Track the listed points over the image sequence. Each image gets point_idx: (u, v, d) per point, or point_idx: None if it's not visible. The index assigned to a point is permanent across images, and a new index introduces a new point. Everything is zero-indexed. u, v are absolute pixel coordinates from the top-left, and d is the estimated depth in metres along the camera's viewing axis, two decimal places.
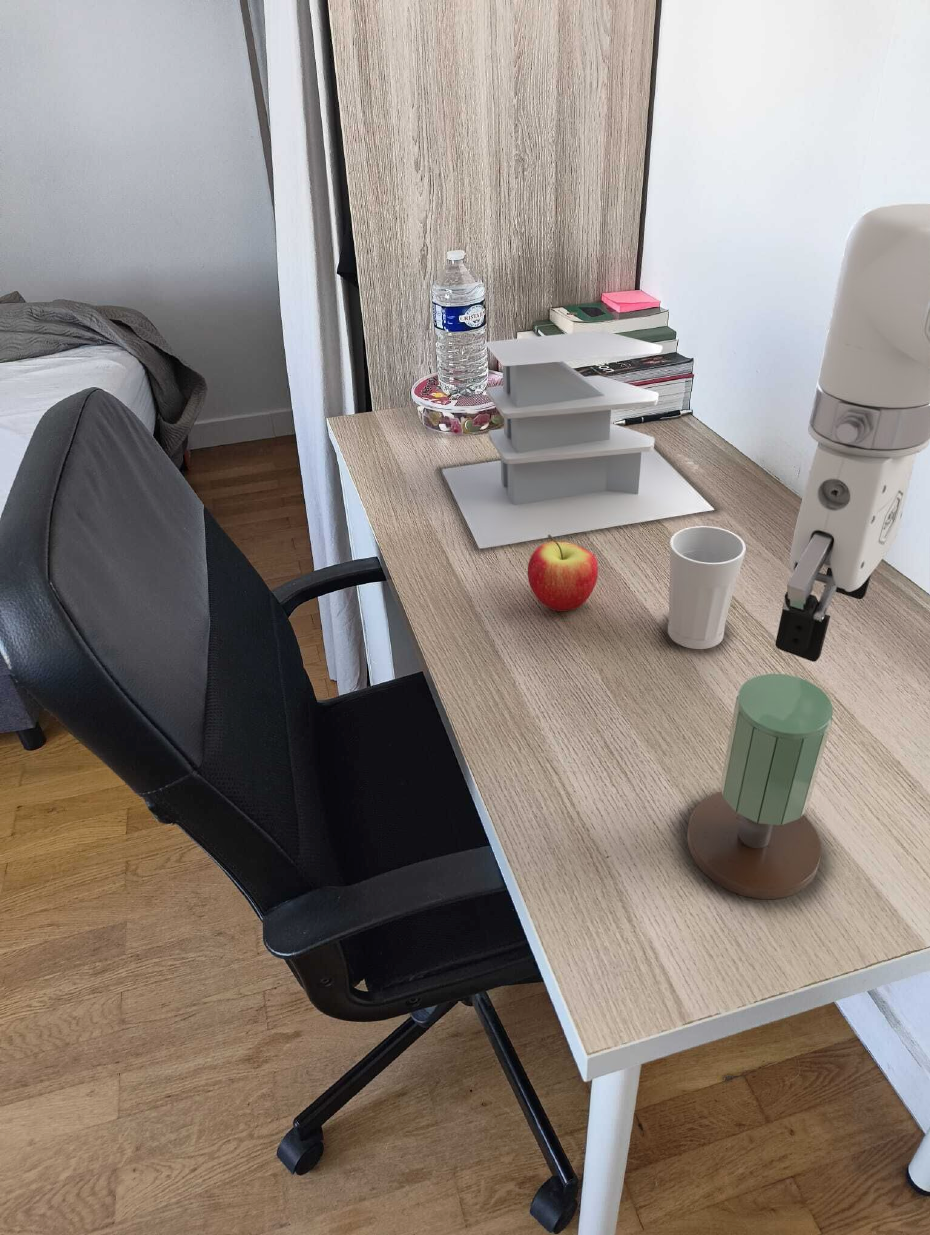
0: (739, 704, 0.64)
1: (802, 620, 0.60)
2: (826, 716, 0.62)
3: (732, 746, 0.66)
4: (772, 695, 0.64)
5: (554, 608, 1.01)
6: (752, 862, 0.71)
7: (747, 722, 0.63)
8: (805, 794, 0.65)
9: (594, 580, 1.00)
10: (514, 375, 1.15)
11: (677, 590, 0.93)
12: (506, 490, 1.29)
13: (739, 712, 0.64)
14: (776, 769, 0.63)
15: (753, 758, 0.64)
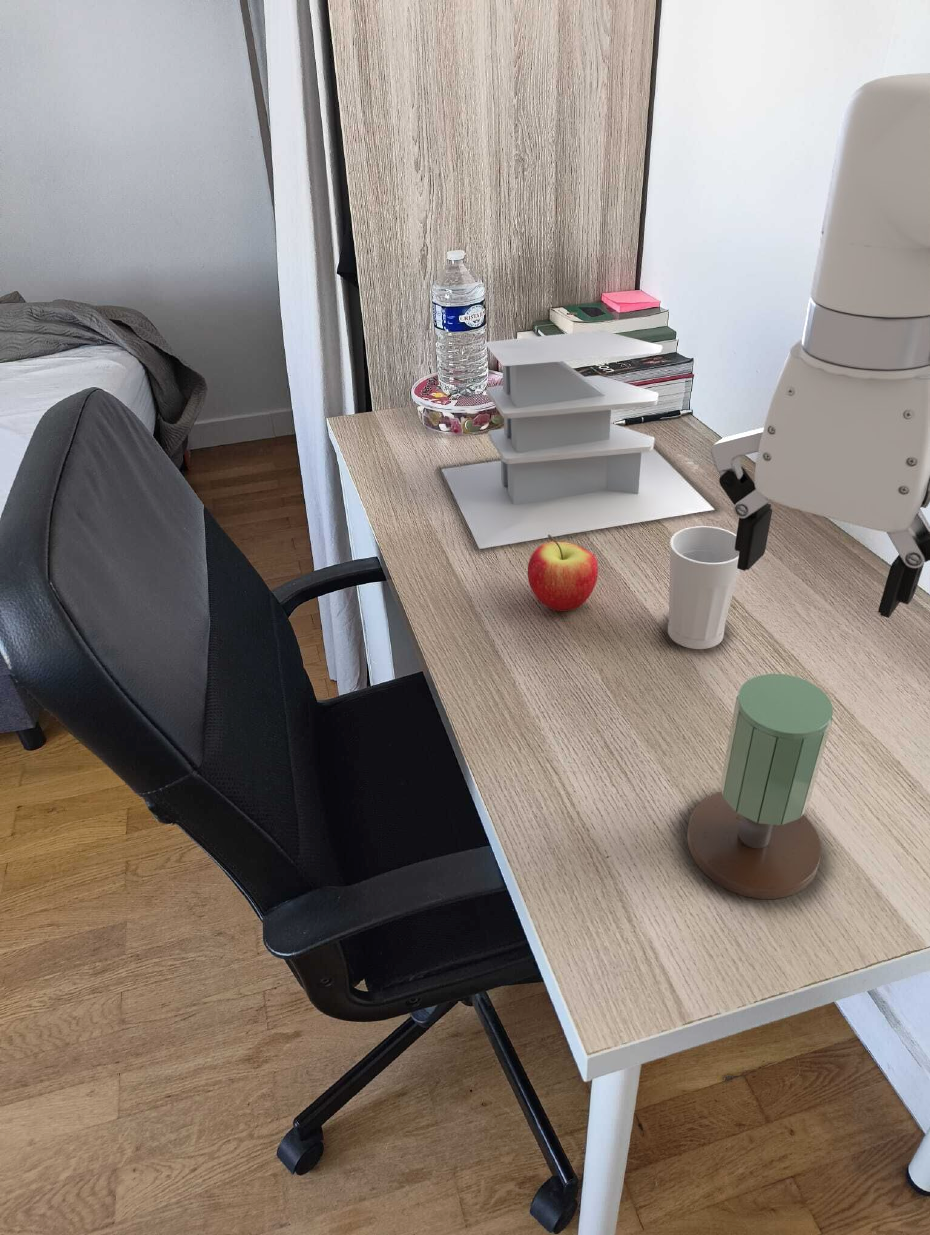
0: (739, 704, 0.64)
1: None
2: (826, 716, 0.62)
3: (732, 746, 0.66)
4: (772, 695, 0.64)
5: (554, 608, 1.01)
6: (752, 862, 0.71)
7: (747, 722, 0.63)
8: (805, 794, 0.65)
9: (594, 580, 1.00)
10: (514, 375, 1.15)
11: (677, 590, 0.93)
12: (506, 490, 1.29)
13: (739, 712, 0.64)
14: (776, 769, 0.63)
15: (753, 758, 0.64)
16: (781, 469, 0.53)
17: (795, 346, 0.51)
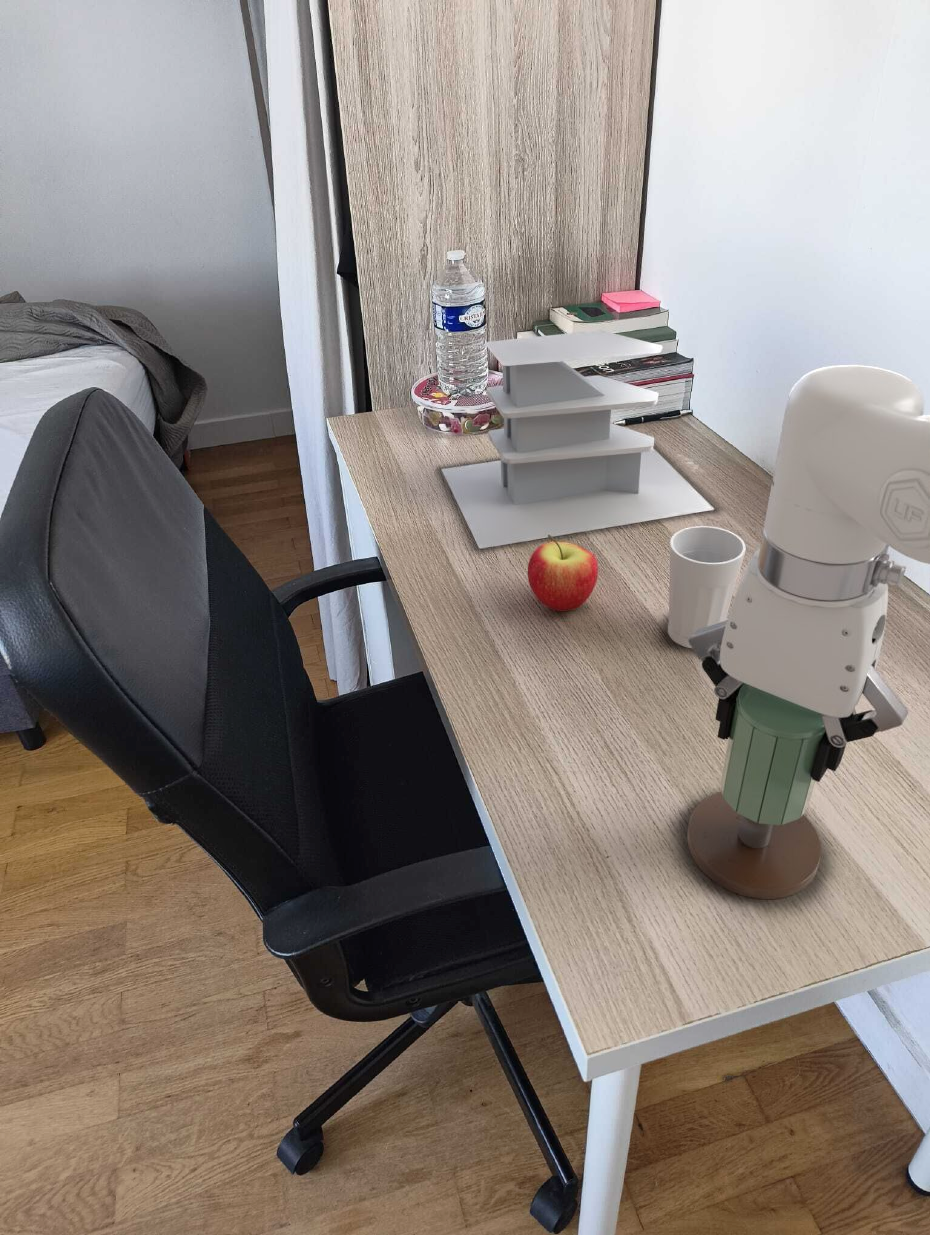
0: (739, 704, 0.64)
1: None
2: None
3: (732, 746, 0.66)
4: (772, 695, 0.64)
5: (554, 608, 1.01)
6: (752, 862, 0.71)
7: (747, 722, 0.63)
8: (805, 794, 0.65)
9: (594, 580, 1.00)
10: (514, 375, 1.15)
11: (677, 590, 0.93)
12: (506, 490, 1.29)
13: (739, 712, 0.64)
14: (776, 769, 0.63)
15: (753, 758, 0.64)
16: (741, 656, 0.61)
17: (753, 558, 0.59)
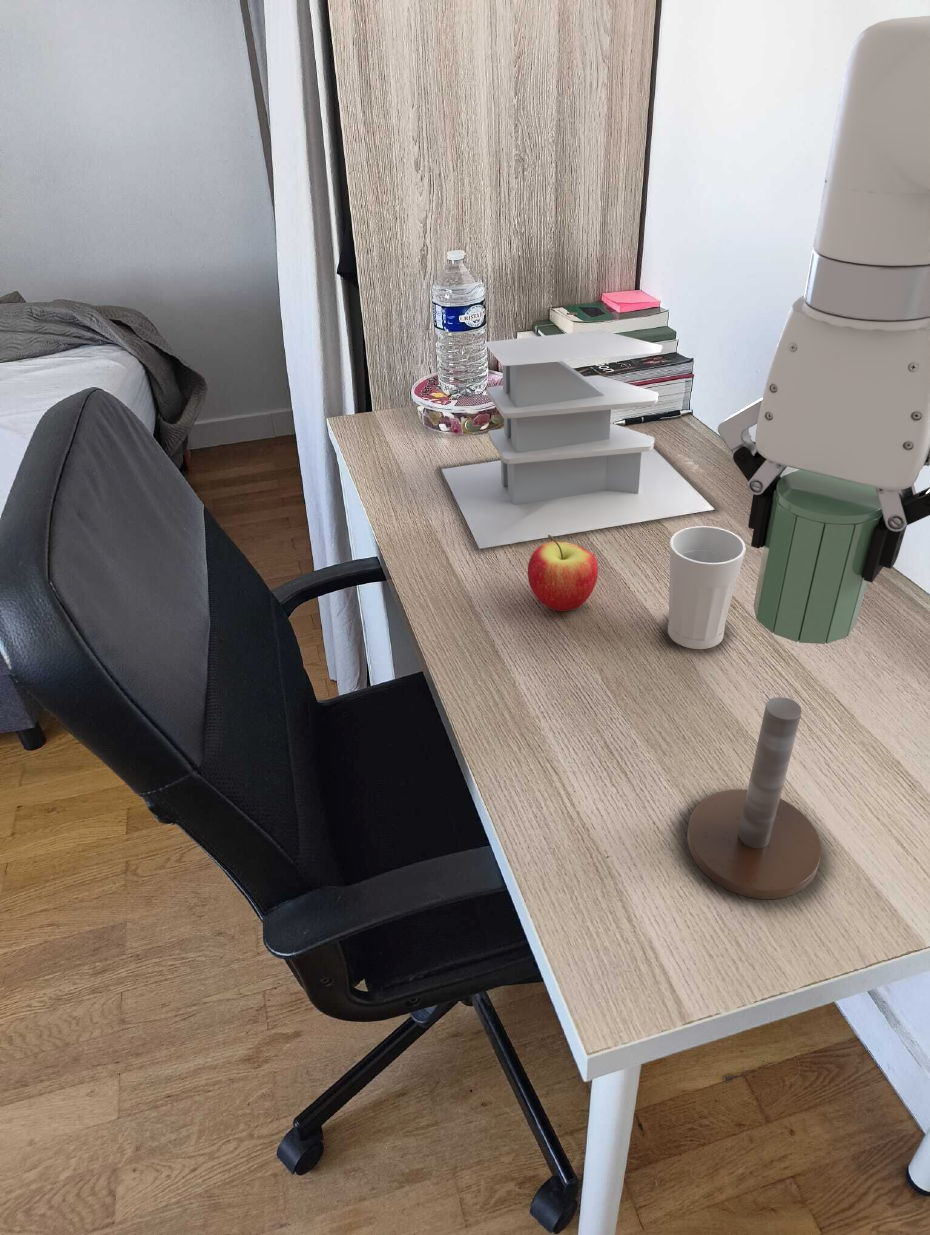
0: (778, 494, 0.55)
1: None
2: None
3: (769, 550, 0.57)
4: (816, 485, 0.55)
5: (554, 608, 1.01)
6: (752, 862, 0.71)
7: (788, 512, 0.54)
8: (854, 604, 0.57)
9: (594, 580, 1.00)
10: (514, 375, 1.15)
11: (677, 590, 0.93)
12: (506, 490, 1.29)
13: (778, 503, 0.55)
14: (822, 567, 0.54)
15: (795, 557, 0.55)
16: (783, 428, 0.52)
17: (797, 302, 0.50)
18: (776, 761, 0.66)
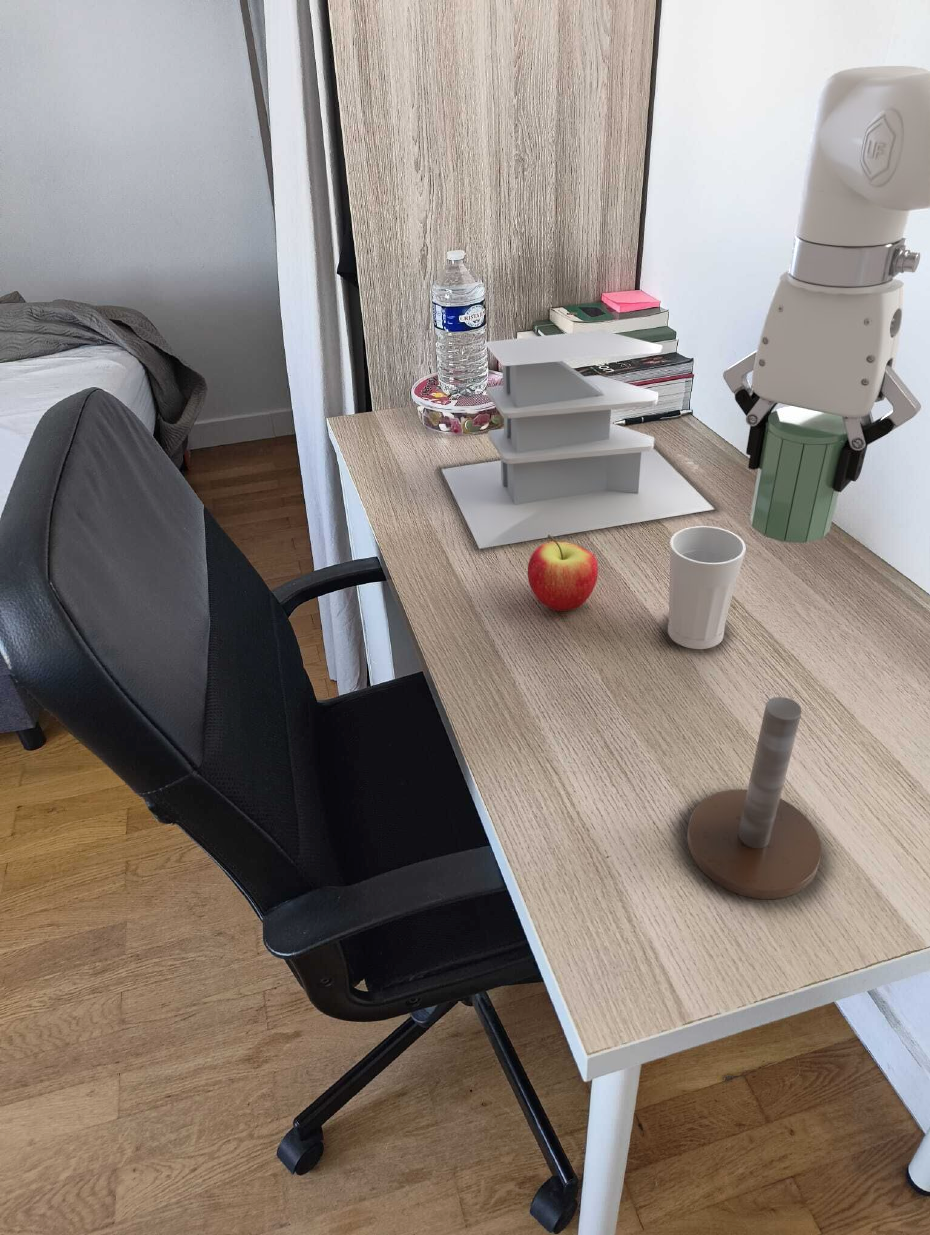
0: (769, 424, 0.72)
1: (864, 448, 0.70)
2: None
3: (762, 469, 0.74)
4: (798, 417, 0.72)
5: (554, 608, 1.01)
6: (752, 862, 0.71)
7: (776, 436, 0.71)
8: (827, 510, 0.73)
9: (594, 580, 1.00)
10: (514, 375, 1.15)
11: (677, 590, 0.93)
12: (506, 490, 1.29)
13: (769, 431, 0.71)
14: (802, 479, 0.71)
15: (781, 472, 0.72)
16: (772, 371, 0.69)
17: (783, 274, 0.67)
18: (776, 761, 0.66)
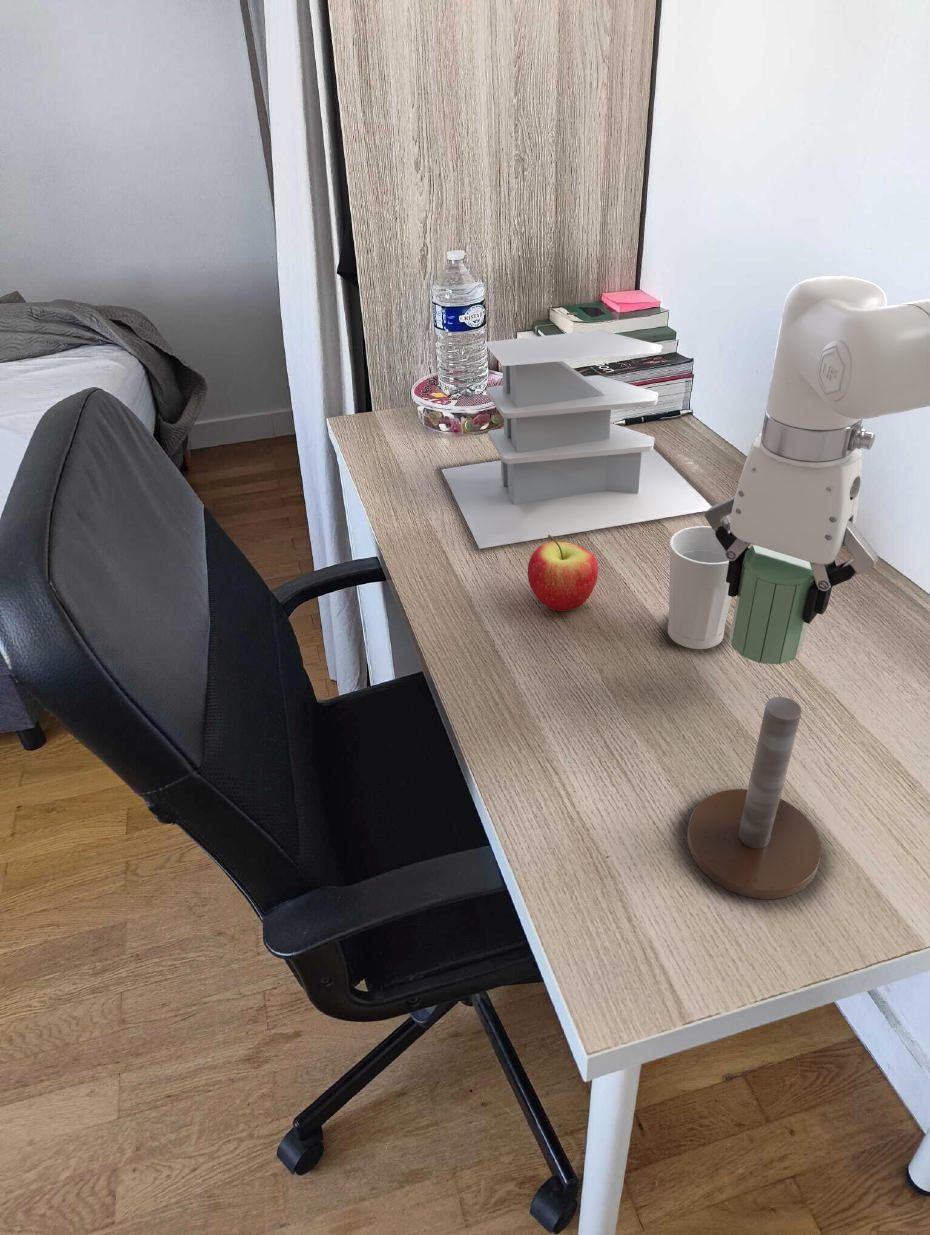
0: (745, 562, 0.80)
1: (830, 587, 0.78)
2: None
3: (739, 599, 0.82)
4: (772, 555, 0.80)
5: (554, 608, 1.01)
6: (752, 862, 0.71)
7: (752, 575, 0.79)
8: (798, 637, 0.81)
9: (594, 580, 1.00)
10: (514, 375, 1.15)
11: (677, 590, 0.93)
12: (506, 490, 1.29)
13: (745, 568, 0.80)
14: (775, 613, 0.79)
15: (756, 605, 0.80)
16: (748, 520, 0.77)
17: (757, 438, 0.75)
18: (776, 761, 0.66)
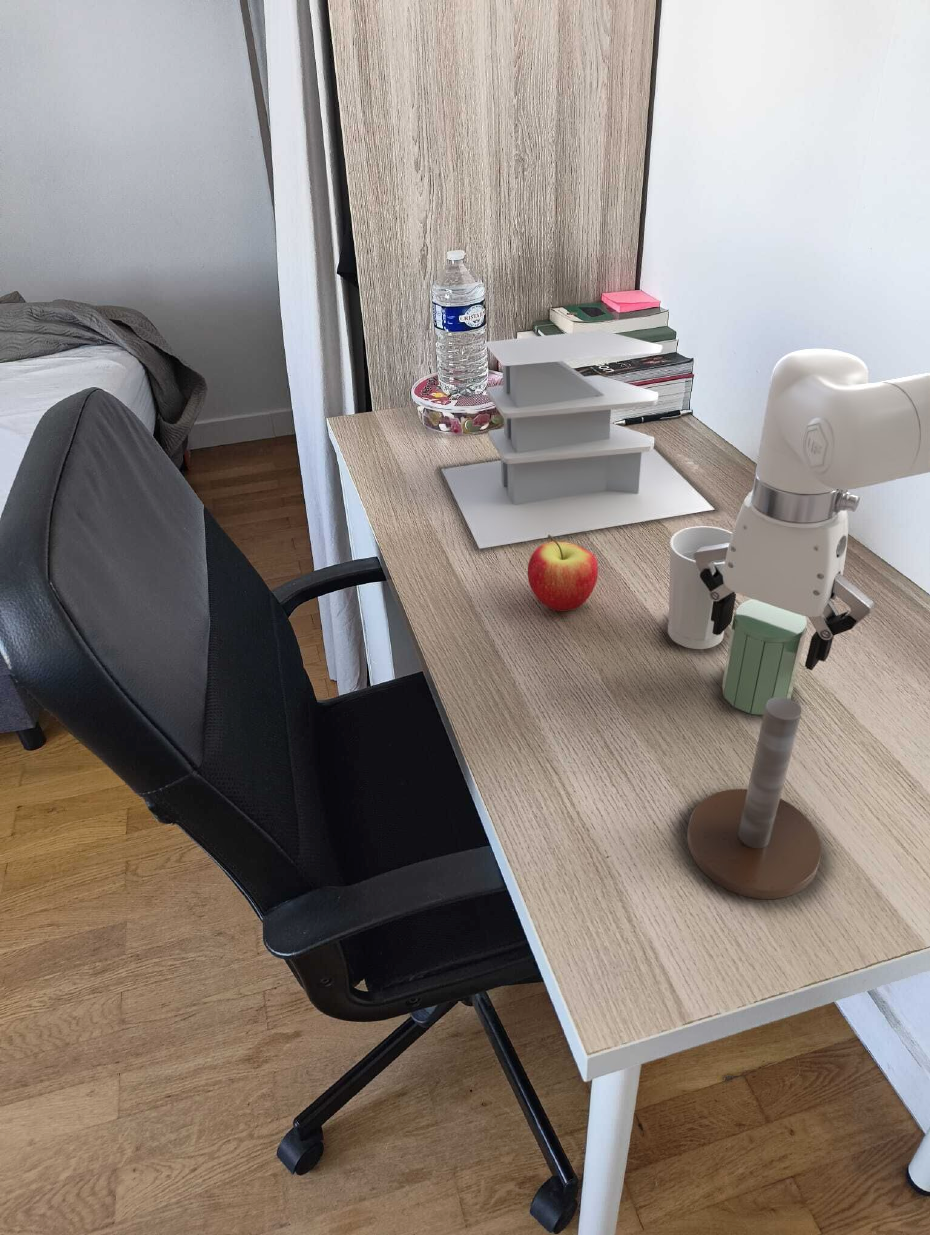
0: (736, 619, 0.84)
1: (832, 635, 0.80)
2: (802, 626, 0.82)
3: (730, 653, 0.86)
4: (761, 612, 0.84)
5: (554, 608, 1.01)
6: (752, 862, 0.71)
7: (742, 632, 0.83)
8: (786, 689, 0.85)
9: (594, 580, 1.00)
10: (514, 375, 1.15)
11: (677, 590, 0.93)
12: (506, 490, 1.29)
13: (736, 625, 0.84)
14: (764, 668, 0.83)
15: (746, 660, 0.84)
16: (739, 573, 0.80)
17: (748, 497, 0.78)
18: (776, 761, 0.66)
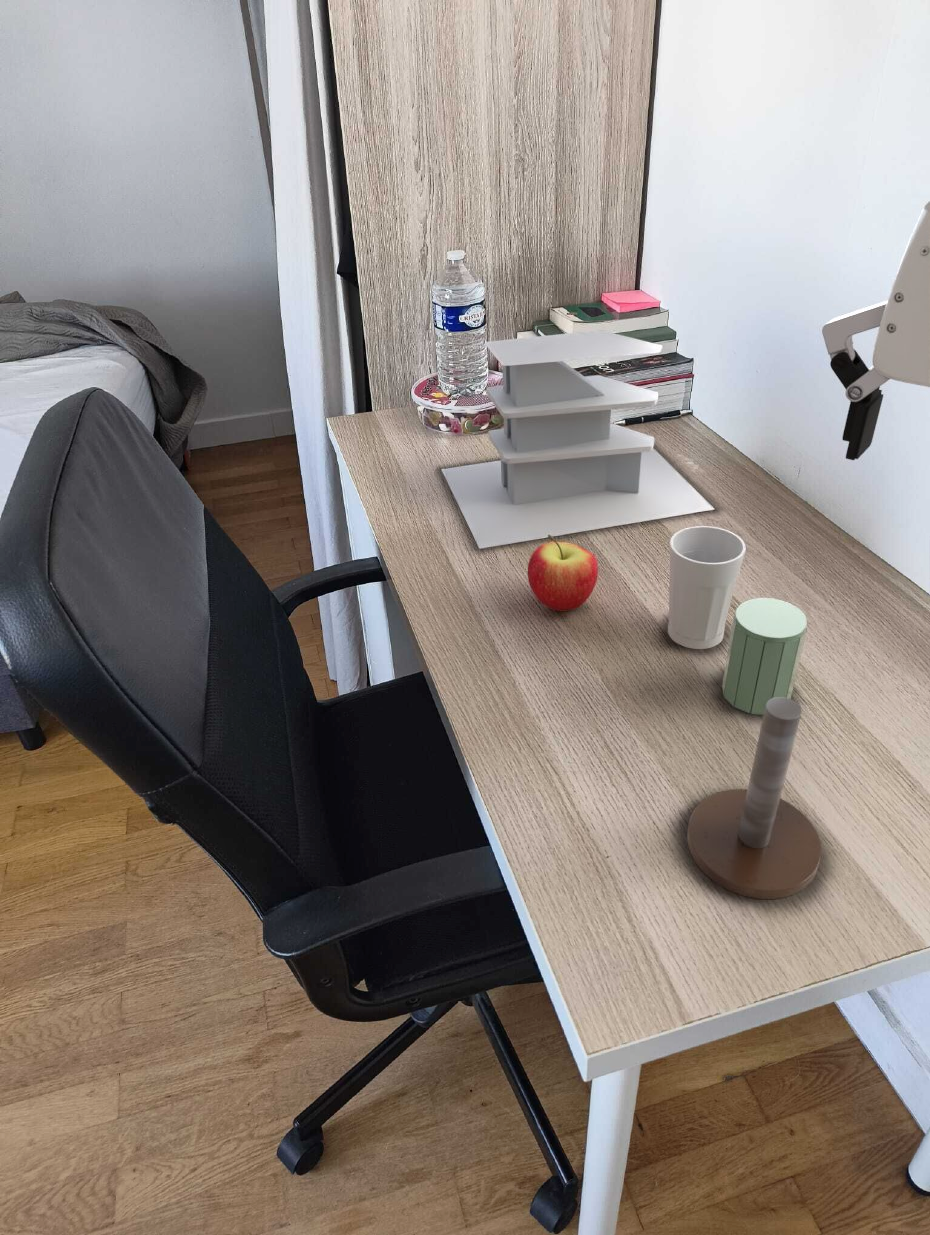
0: (736, 619, 0.84)
1: None
2: (802, 626, 0.82)
3: (730, 653, 0.86)
4: (761, 612, 0.84)
5: (554, 608, 1.01)
6: (752, 862, 0.71)
7: (742, 632, 0.83)
8: (786, 689, 0.85)
9: (594, 580, 1.00)
10: (514, 375, 1.15)
11: (677, 590, 0.93)
12: (506, 490, 1.29)
13: (736, 625, 0.84)
14: (764, 668, 0.83)
15: (746, 660, 0.84)
16: (906, 340, 0.51)
17: (928, 205, 0.48)
18: (776, 761, 0.66)
